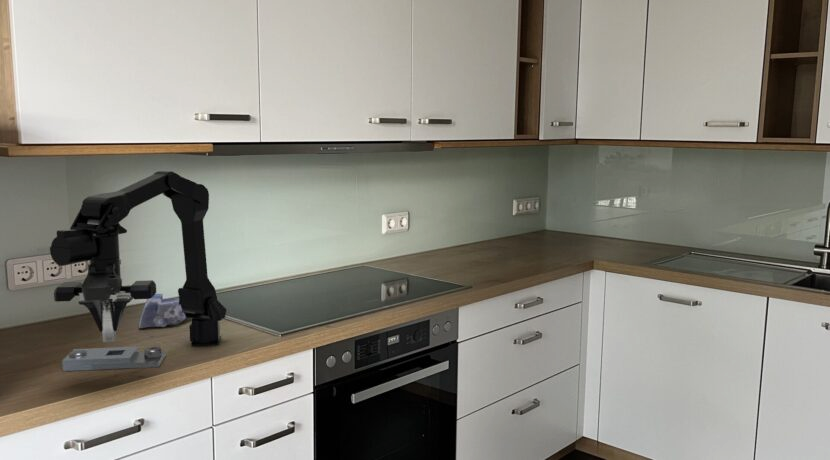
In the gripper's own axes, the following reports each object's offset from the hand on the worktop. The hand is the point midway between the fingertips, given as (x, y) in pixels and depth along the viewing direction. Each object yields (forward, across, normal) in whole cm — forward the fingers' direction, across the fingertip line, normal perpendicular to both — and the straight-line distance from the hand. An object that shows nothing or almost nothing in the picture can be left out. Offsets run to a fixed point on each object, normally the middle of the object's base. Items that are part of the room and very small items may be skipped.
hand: (108, 331), depth 145 cm
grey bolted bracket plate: (+11, -2, +11) cm, 16 cm away
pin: (+2, 0, 0) cm, 2 cm away
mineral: (+11, +3, +42) cm, 44 cm away
